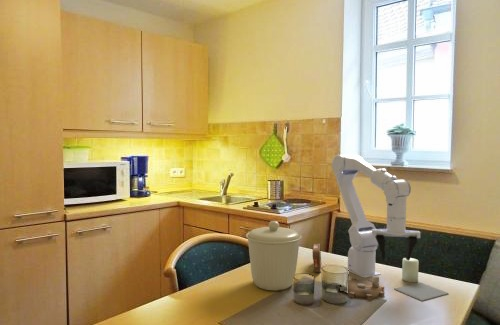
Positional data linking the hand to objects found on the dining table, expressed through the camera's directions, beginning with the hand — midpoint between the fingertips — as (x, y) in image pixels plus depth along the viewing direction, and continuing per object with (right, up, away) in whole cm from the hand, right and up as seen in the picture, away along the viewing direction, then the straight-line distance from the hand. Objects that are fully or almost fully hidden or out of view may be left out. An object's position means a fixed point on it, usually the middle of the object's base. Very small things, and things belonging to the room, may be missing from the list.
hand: (395, 258), depth 120 cm
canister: (-39, -9, +1) cm, 40 cm away
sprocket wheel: (-12, -9, -4) cm, 15 cm away
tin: (-22, -9, +18) cm, 30 cm away
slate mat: (+6, -9, -5) cm, 12 cm away
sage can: (+8, -9, +6) cm, 13 cm away
